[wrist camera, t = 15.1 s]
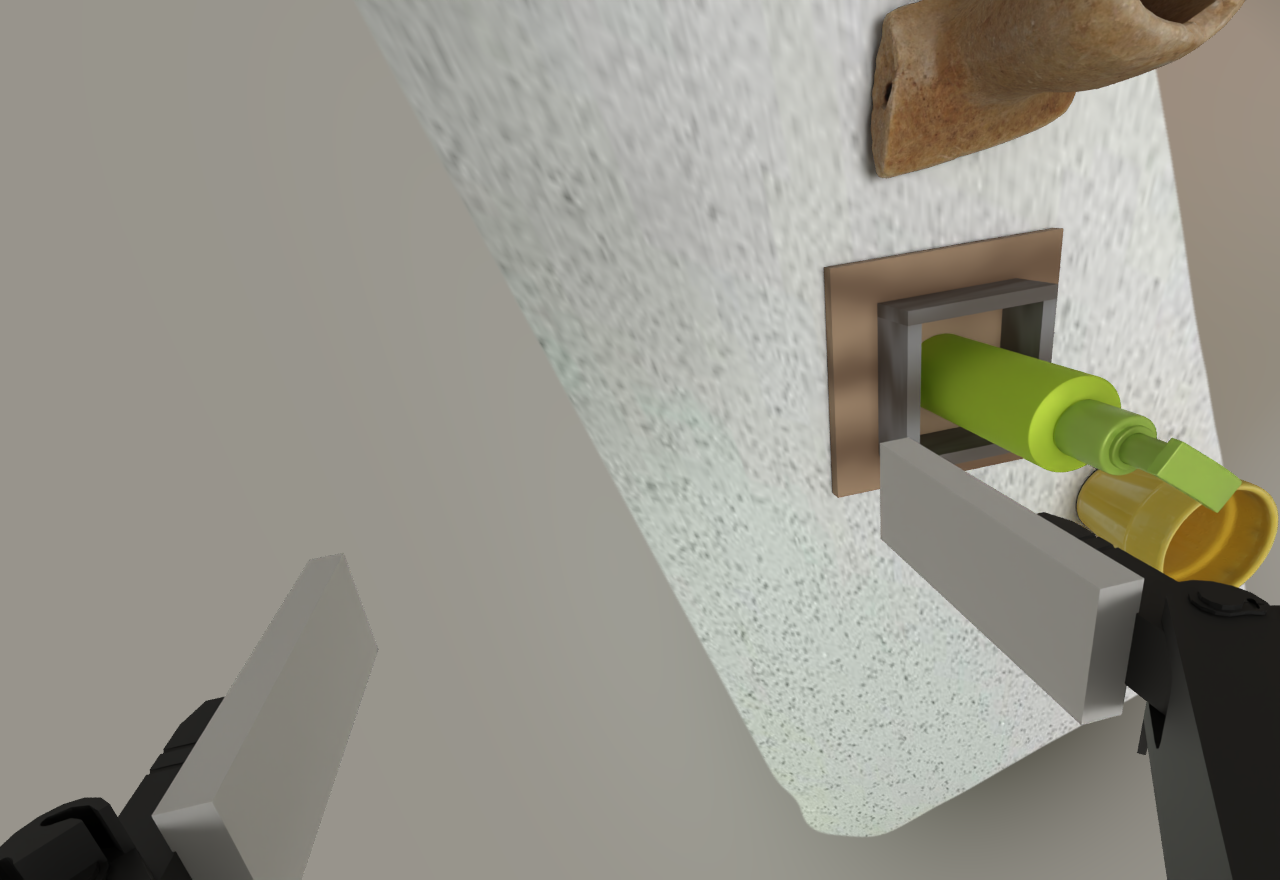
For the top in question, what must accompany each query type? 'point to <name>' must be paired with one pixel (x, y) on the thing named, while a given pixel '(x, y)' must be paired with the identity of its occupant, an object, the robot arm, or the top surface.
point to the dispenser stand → (910, 314)
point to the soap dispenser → (1058, 417)
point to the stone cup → (1013, 67)
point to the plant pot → (1180, 526)
